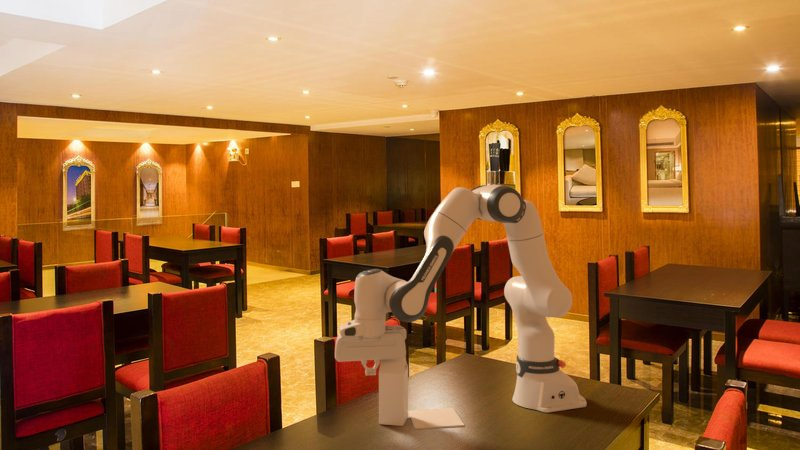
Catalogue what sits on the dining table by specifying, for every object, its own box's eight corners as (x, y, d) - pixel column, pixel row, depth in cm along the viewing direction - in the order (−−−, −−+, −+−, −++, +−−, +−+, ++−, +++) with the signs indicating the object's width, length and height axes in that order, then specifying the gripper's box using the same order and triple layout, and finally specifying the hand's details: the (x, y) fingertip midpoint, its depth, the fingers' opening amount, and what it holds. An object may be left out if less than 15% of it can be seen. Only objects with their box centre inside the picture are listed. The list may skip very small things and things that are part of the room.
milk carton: (403, 426, 163) (403, 359, 162) (378, 424, 165) (378, 358, 164) (408, 417, 170) (408, 353, 169) (384, 415, 172) (384, 351, 171)
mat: (453, 409, 176) (453, 407, 176) (464, 426, 164) (464, 424, 164) (407, 411, 174) (407, 410, 174) (415, 429, 161) (415, 427, 161)
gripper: (404, 322, 170) (405, 369, 171) (334, 325, 167) (334, 373, 167) (408, 327, 163) (408, 376, 164) (334, 330, 160) (335, 380, 161)
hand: (370, 374), depth 166 cm, fingers closed
